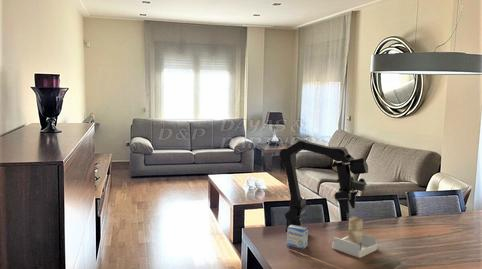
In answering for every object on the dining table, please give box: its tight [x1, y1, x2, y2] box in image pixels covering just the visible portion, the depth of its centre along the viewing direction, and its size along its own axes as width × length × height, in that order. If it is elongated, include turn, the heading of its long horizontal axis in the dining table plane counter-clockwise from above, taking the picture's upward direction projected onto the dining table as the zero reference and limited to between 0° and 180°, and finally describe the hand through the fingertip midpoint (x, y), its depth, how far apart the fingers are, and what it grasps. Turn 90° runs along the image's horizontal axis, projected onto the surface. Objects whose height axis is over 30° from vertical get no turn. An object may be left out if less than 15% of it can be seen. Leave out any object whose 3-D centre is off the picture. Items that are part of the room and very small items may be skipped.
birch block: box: [347, 216, 364, 249], centre depth 172 cm, size 4×4×13 cm
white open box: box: [331, 233, 378, 259], centre depth 172 cm, size 13×13×6 cm
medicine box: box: [286, 225, 309, 249], centre depth 175 cm, size 8×4×9 cm, turn 62°
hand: (350, 210), depth 182 cm, fingers open, 9 cm apart
